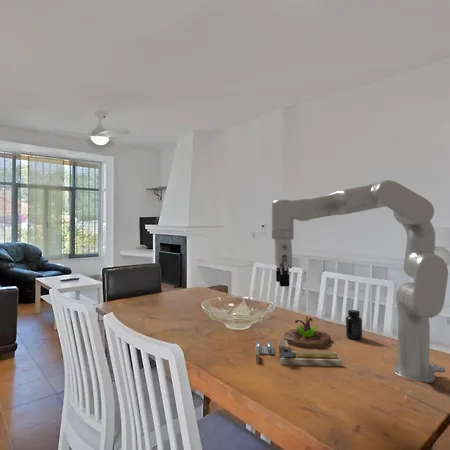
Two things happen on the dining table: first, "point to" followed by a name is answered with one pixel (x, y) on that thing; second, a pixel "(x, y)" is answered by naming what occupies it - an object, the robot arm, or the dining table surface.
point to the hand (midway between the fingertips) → (282, 283)
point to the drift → (314, 354)
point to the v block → (264, 348)
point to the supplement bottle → (353, 325)
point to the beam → (302, 361)
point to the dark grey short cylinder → (287, 353)
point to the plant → (307, 336)
